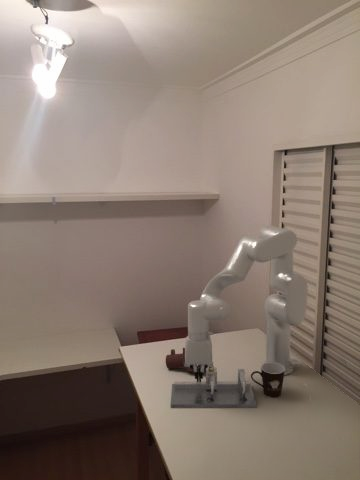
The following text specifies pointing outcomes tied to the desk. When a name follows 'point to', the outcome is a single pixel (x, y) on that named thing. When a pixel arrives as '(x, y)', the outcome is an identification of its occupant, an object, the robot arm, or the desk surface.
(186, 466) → the desk surface
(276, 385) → the coffee mug
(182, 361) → the bracket
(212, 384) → the sliding leg
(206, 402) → the bolt plate and beam
